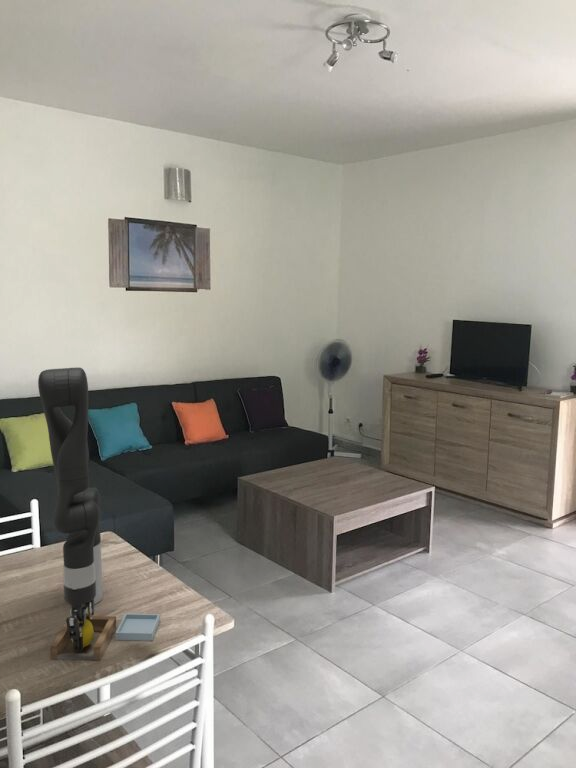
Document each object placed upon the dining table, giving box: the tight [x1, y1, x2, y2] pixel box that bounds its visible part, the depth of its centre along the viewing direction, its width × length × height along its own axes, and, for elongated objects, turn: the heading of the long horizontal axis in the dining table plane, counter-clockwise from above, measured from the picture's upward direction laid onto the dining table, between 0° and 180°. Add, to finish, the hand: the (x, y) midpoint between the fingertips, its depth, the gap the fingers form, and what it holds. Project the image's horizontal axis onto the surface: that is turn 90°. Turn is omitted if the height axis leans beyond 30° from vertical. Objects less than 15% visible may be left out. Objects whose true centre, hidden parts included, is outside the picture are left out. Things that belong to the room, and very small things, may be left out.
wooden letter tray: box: [50, 615, 117, 661], centre depth 160 cm, size 14×12×4 cm
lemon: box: [70, 619, 95, 649], centre depth 158 cm, size 6×6×8 cm
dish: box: [115, 613, 161, 642], centre depth 167 cm, size 9×9×2 cm
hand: (82, 642), depth 158 cm, fingers closed on lemon, 5 cm apart
